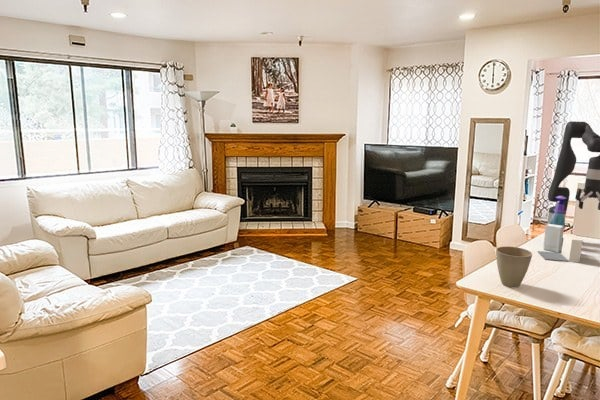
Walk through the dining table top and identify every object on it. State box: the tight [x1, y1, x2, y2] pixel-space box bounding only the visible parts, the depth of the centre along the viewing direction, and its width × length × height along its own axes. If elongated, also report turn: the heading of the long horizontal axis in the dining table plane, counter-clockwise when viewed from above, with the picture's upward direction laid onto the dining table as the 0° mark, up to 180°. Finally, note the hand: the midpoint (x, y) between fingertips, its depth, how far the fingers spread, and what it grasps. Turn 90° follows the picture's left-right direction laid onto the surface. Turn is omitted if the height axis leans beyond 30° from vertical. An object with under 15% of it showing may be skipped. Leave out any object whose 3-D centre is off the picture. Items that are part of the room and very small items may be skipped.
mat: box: [537, 250, 570, 263], centre depth 245 cm, size 14×11×1 cm
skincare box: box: [542, 223, 565, 253], centre depth 256 cm, size 8×6×15 cm
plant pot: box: [495, 245, 533, 288], centre depth 203 cm, size 15×15×16 cm
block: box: [560, 233, 583, 263], centre depth 242 cm, size 12×5×12 cm, turn 167°
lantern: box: [550, 196, 566, 245], centre depth 265 cm, size 13×12×30 cm
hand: (590, 209), depth 230 cm, fingers open, 8 cm apart
